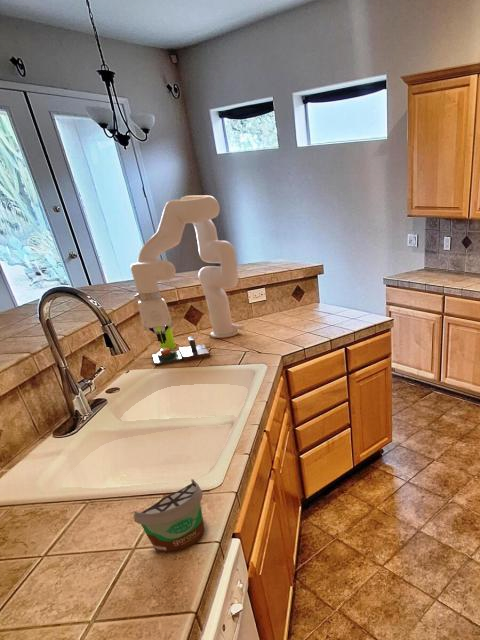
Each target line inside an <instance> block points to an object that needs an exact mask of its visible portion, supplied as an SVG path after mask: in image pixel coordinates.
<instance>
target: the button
mask: <svg viewBox="0 0 480 640" xmlns="http://www.w3.org/2000/svg"><path fill="white" fill-rule="evenodd" d="M170 350H171V349H170V348H163V349H162V348H160V349H159V352H161V354H168V353H171V351H170Z"/></svg>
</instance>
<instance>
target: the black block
mask: <svg viewBox="0 0 480 640" xmlns="http://www.w3.org/2000/svg"><path fill="white" fill-rule="evenodd" d="M187 342H188V345H189V346H190V349H191V351H192V352H196V351H197V348H196V341H195V339H194V337H193V336H188V337H187Z"/></svg>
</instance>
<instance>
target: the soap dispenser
mask: <svg viewBox="0 0 480 640" xmlns="http://www.w3.org/2000/svg"><path fill="white" fill-rule="evenodd" d="M156 328H157V330H158V331H159V333H160V334H161V327H156ZM173 334H174V333H173V330H172V327H170V328H168V329H167V330H166V332H165V336H166V339H167V340H166V341H165V343H163V344H161V342H160V341H159V346H160V349H163V348H170V350H172V349H174V348H176V347H177V346H176V342H175V341H176V340H175V338H174V335H173ZM161 338H162V336H161ZM162 341H163V340H162Z"/></svg>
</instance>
